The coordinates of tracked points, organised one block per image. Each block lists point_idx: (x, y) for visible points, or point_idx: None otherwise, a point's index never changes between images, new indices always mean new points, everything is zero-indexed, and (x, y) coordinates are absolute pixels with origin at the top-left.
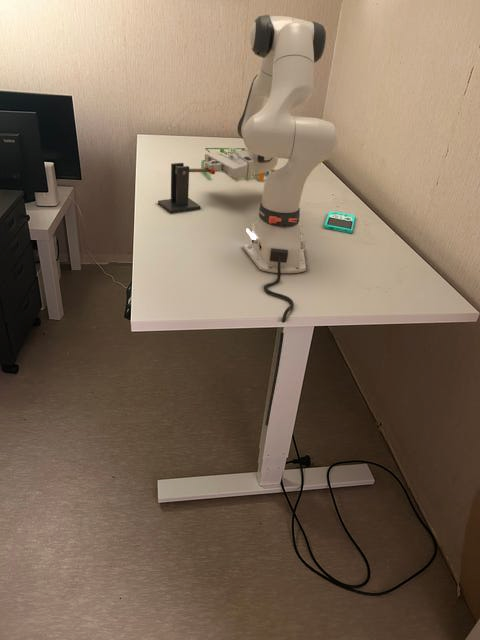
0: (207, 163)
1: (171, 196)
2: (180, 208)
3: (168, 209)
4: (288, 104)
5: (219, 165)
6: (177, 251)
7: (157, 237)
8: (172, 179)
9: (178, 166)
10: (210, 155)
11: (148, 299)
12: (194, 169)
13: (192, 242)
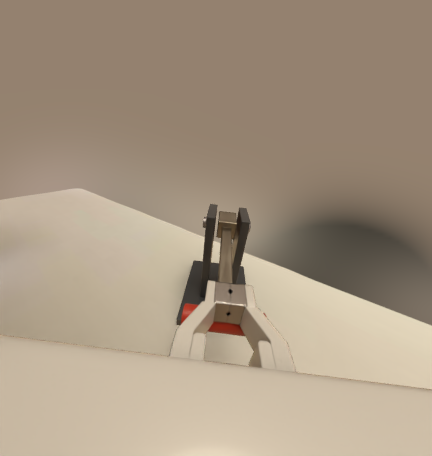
0: (232, 284)
1: None
2: (191, 275)
3: (202, 262)
4: None
5: (175, 339)
6: (102, 223)
7: (144, 226)
8: (233, 239)
9: (231, 215)
10: (407, 393)
11: (83, 194)
12: (221, 248)
13: (96, 239)
